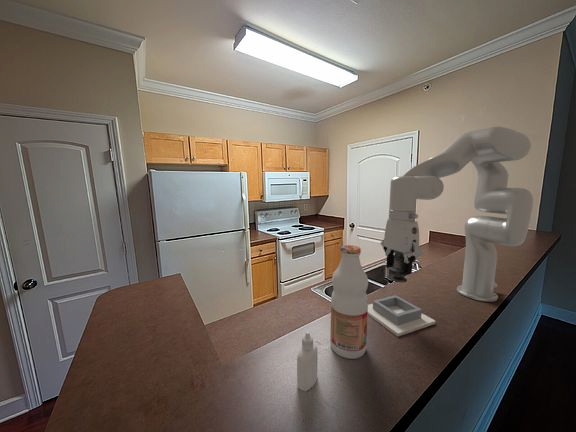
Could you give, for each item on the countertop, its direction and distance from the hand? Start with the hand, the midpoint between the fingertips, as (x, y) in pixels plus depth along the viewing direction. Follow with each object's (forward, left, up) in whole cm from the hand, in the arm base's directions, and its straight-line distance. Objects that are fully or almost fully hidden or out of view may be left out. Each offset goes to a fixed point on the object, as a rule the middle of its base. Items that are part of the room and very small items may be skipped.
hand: (398, 270), depth 74 cm
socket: (0, 0, -16) cm, 16 cm away
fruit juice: (+24, +6, -16) cm, 30 cm away
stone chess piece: (0, 0, -3) cm, 3 cm away
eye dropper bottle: (+39, +12, -16) cm, 44 cm away
